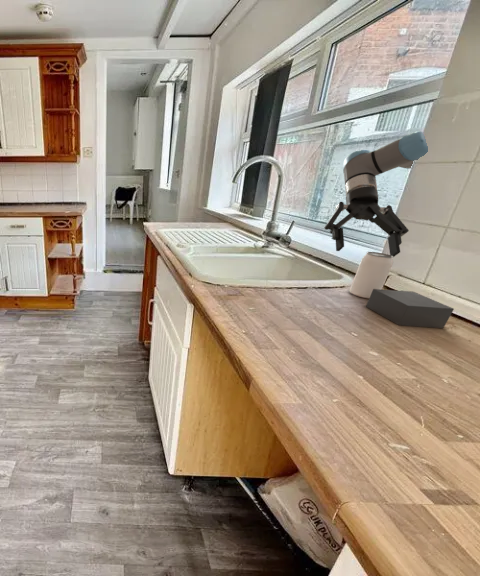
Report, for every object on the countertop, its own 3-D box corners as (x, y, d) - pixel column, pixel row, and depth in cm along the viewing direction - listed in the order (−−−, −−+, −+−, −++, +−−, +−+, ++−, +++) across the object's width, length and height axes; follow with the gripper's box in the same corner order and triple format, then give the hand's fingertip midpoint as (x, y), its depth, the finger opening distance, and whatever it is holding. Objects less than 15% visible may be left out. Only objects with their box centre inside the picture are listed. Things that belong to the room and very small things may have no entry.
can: (375, 294, 88) (392, 254, 84) (379, 301, 83) (398, 259, 79) (347, 288, 91) (362, 249, 87) (350, 295, 86) (366, 254, 82)
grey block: (404, 309, 79) (413, 291, 77) (443, 328, 70) (454, 308, 68) (365, 306, 79) (373, 288, 78) (398, 325, 70) (408, 305, 68)
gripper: (399, 204, 96) (409, 263, 89) (310, 198, 102) (312, 252, 95) (418, 188, 90) (430, 250, 82) (322, 182, 96) (324, 239, 88)
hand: (367, 251), depth 88 cm, fingers open, 13 cm apart
